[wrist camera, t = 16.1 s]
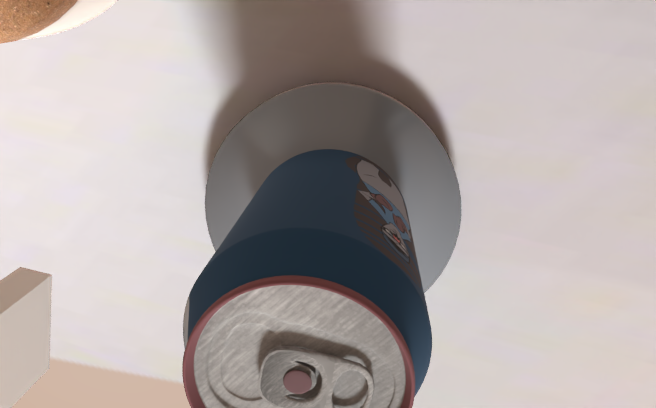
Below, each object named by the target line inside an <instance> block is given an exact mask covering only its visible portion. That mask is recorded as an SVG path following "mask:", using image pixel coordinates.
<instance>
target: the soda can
mask: <svg viewBox="0 0 656 408" xmlns="http://www.w3.org/2000/svg"><path fill="white" fill-rule="evenodd" d="M183 338H184V346H185V352H184V357H183V382H184V388H185V392H186V396H187V399H188V401H189V404H190V406H191V408H412V406H413V401H414V397H415V395H416V394H417V392H418V390H419V389H420V387H421V385H422V383H423V381H424V378H425V376H426V373H427V370H428V367H429V363H430V358H431V350H432V334H431V326H430V321H429V316H428V311H427V306H426V301H425V296H424V291H423V286H422V281H421V276H420V271H419V266H418V262H417V257H416V252H415V247H414V242H413V237H412V232H411V227H410V222H409V217H408V212H407V208H406V204H405V201H404V198H403V196H402V194H401V192H400V190H399V188H398V187H397V185H396V184H395V182H394V181H393V180H392V178H391V177H390V176H389V175H388V174H387V173H386V172H385V171H384V170H383V169H382V168H380V167H379V166H378V165H377V164H375V163H374V162H372V161H370V160H369V159H367V158H365V157H363V156H360V155H358V154H355V153H352V152H348V151H343V150H336V149H320V150H313V151H308V152H305V153H302V154H299V155H296V156H294V157H292V158H290V159H288V160H287V161H285V162H283V163H282V164H281V165H279V166H278V167H277V168H276V169H275V170H273V171H272V172H271V173H270V175H269V176H268V177H267V178H266V180H265V181H264V182H263V184H262V185H261V187H260V188H259V190H258V191H257V192H256V194H255V195H254V197H253V198H252V200H251V201H250V203H249V204H248V206H247V207H246V209H245V210H244V211H243V213H242V214H241V216H240V217H239V219H238V220H237V222H236V223H235V225H234V226H233V227H232V229H231V230H230V232H229V233H228V235H227V236H226V238H225V239H224V241H223V242H222V244H221V245H220V246H219V248H218V249H217V251H216V252H215V254H214V255H213V257H212V258H211V260H210V261H209V262H208V264H207V265H206V267H205V268H204V270H203V271H202V273H201V274H200V276H199V277H198V279H197V280H196V282H195V284H194V286H193V288H192V290H191V292H190V295H189V297H188V300H187V304H186V307H185V313H184V320H183Z"/></svg>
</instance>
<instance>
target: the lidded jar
mask: <svg viewBox="0 0 656 408" xmlns="http://www.w3.org/2000/svg"><path fill="white" fill-rule="evenodd" d="M117 1H118V0H0V43H6V42H12V41H17V40H25V39H33V38H39V37H45V36H50V35H54V34H58V33H62V32H65V31H67V30H70V29H73V28H76V27H78V26H81V25H83V24H85V23H87V22H89V21H91V20H92V19H94V18H96V17H97V16H99V15H101V14H102V13H104V12H106V11H107V10H108V9H109V8H110V7H111V6H112V5H114V4H115V3H116V2H117Z"/></svg>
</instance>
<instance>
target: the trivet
mask: <svg viewBox="0 0 656 408" xmlns="http://www.w3.org/2000/svg"><path fill="white" fill-rule="evenodd" d="M320 149H336V150H343V151H348V152H352V153H355V154H358V155H360V156H363V157H365V158H367V159H369V160H370V161H372V162H374V163H375V164H377V165H378V166H379V167H380V168H382V169H383V170H384V171H385V172H386V173H387V174H388V175H389V176H390V177H391V178H392V180H393V181H394V182H395V184H396V185H397V187H398V188H399V190H400V192H401V194H402V196H403V198H404V201H405V204H406V208H407V212H408V217H409V222H410V227H411V232H412V237H413V242H414V247H415V252H416V257H417V262H418V266H419V271H420V276H421V281H422V286H423V291H424V293H425V292H426V291H427V290H428V289H429V288H430V287H431V286H432V285H433V283H434V282H435V281H436V280H437V278H438V277H439V276H440V275H441V273H442V271H443V270H444V268H445V266H446V265H447V263H448V261H449V259H450V257H451V255H452V252H453V250H454V248H455V245H456V241H457V237H458V234H459V229H460V221H461V196H460V190H459V184H458V180H457V177H456V174H455V171H454V168H453V165H452V163H451V161H450V159H449V157H448V155H447V153H446V151H445V149H444V147H443V146H442V144H441V143H440V141H439V140H438V138H437V137H436V135H435V134H434V132H433V131H432V129H431V128H430V127H429V126H428V125H427V124H426V123H425V122H424V120H423V119H422V118H421V117H420V116H419V115H417V114H416V113H415V112H414V111H413V110H412V109H410V108H409V107H408V106H406V105H405V104H403V103H402V102H400V101H399V100H397V99H395V98H394V97H392V96H389V95H387V94H385V93H383V92H381V91H379V90H376V89H372V88H369V87H366V86H363V85H357V84H352V83H346V82H322V83H312V84H307V85H303V86H299V87H295V88H292V89H290V90H287V91H285V92H282V93H279V94H278V95H276V96H274V97H272V98H270V99H269V100H267V101H265V102H264V103H262V104H261V105H259V106H258V107H257V108H255V109H254V110H253V111H251V112H250V113H249V114H247V115H246V116H245V117H244V118H243V119H242V120H241V121H240V122H239V123H238V124H237V125H236V126H235V127H234V128H233V129H232V130H231V132H230V133H229V134H228V136H227V137H226V138H225V140H224V141H223V143H222V144H221V146H220V148H219V150H218V152H217V154H216V155H215V158H214V160H213V163H212V166H211V168H210V171H209V176H208V180H207V185H206V195H205V211H206V221H207V226H208V231H209V234H210V237H211V240H212V243H213V246H214V249H215V251H217V249H218V248H219V246H220V245H221V244H222V242H223V241H224V239H225V238H226V236H227V235H228V233H229V232H230V230H231V229H232V227H233V226H234V225H235V223H236V222H237V220H238V219H239V217H240V216H241V214H242V213H243V211H244V210H245V209H246V207H247V206H248V204H249V203H250V201H251V200H252V198H253V197H254V195H255V194H256V192H257V191H258V190H259V188H260V187H261V185H262V184H263V182H264V181H265V180H266V178H267V177H268V176H269V175H270V173H271V172H272V171H273V170H275V169H276V168H277V167H278V166H279V165H281V164H282V163H283V162H285V161H287V160H288V159H290V158H292V157H294V156H296V155H299V154H302V153H305V152H308V151H313V150H320Z"/></svg>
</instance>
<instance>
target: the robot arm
mask: <svg viewBox="0 0 656 408" xmlns="http://www.w3.org/2000/svg"><path fill="white" fill-rule="evenodd" d="M51 288H52V275H50V274H46V273H42V272H38V271H34V270H30V269H26V268H22V267H20V268H18V269H17V270H15V271H14V272H12V273H11V274H10V275H8V276H7V277H5V278H4V279H2V280H1V281H0V408H12V407H13V406H14V405H15V403H16V402H17V401H18V400H19V399H20V398H21V397H22V396H23V395H24V394H25V393H26V392H27V391H28V390H29V389H30V388H31V387H32V386H33V385H34V384H35V383H36V382H37V380H38V379H39V378H40V377H41V376H42V375H43V374H44V373H45V372H46V371H47V370H48V369H49V360H50V324H51Z"/></svg>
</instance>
